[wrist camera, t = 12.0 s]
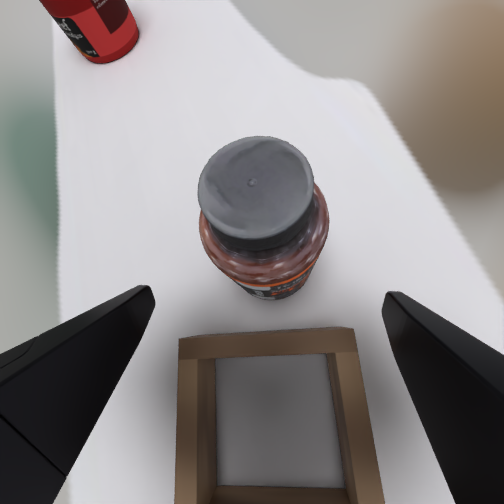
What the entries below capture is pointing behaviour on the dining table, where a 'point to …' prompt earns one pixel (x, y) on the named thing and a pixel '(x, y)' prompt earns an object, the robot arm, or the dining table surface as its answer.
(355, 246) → the dining table surface
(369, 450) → the walnut socket holder
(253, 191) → the supplement bottle
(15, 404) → the robot arm
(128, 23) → the canned food
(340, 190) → the dining table surface
